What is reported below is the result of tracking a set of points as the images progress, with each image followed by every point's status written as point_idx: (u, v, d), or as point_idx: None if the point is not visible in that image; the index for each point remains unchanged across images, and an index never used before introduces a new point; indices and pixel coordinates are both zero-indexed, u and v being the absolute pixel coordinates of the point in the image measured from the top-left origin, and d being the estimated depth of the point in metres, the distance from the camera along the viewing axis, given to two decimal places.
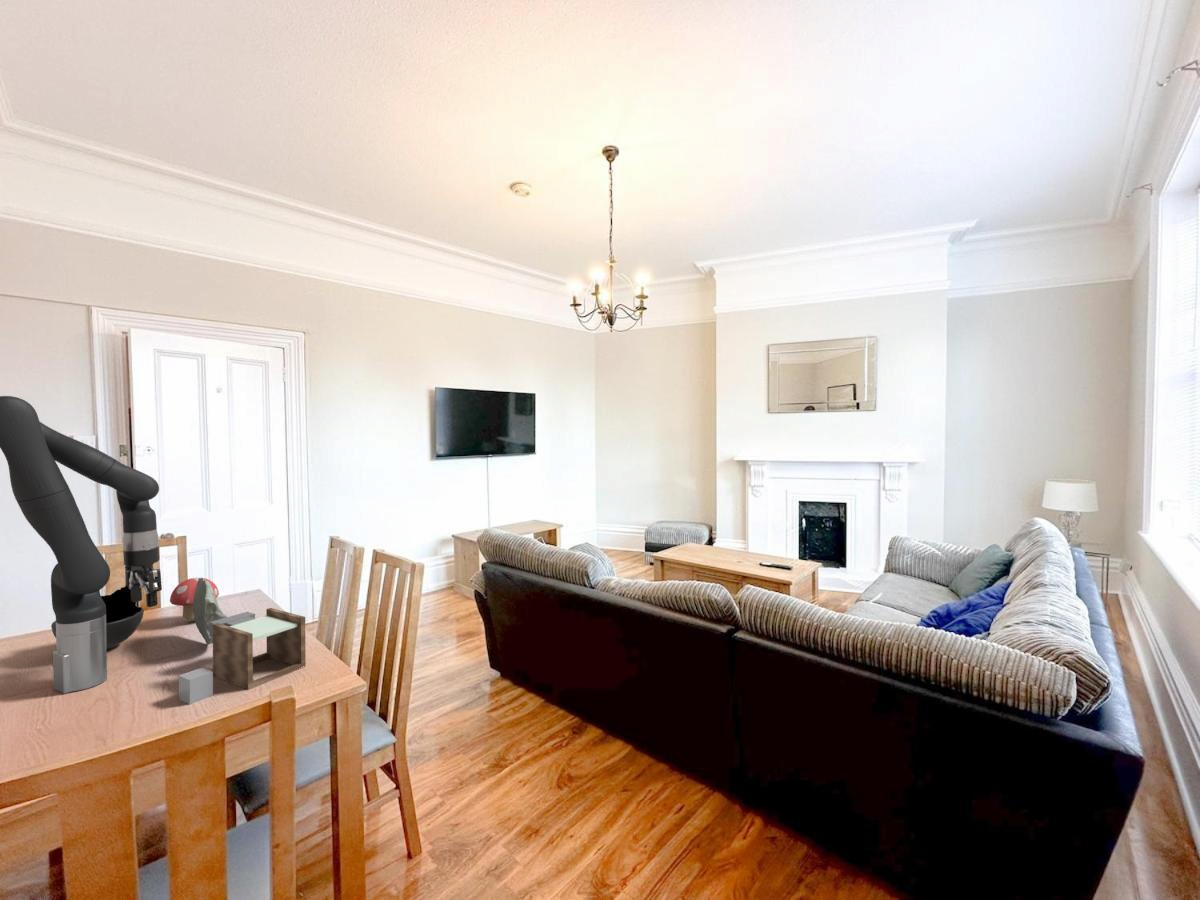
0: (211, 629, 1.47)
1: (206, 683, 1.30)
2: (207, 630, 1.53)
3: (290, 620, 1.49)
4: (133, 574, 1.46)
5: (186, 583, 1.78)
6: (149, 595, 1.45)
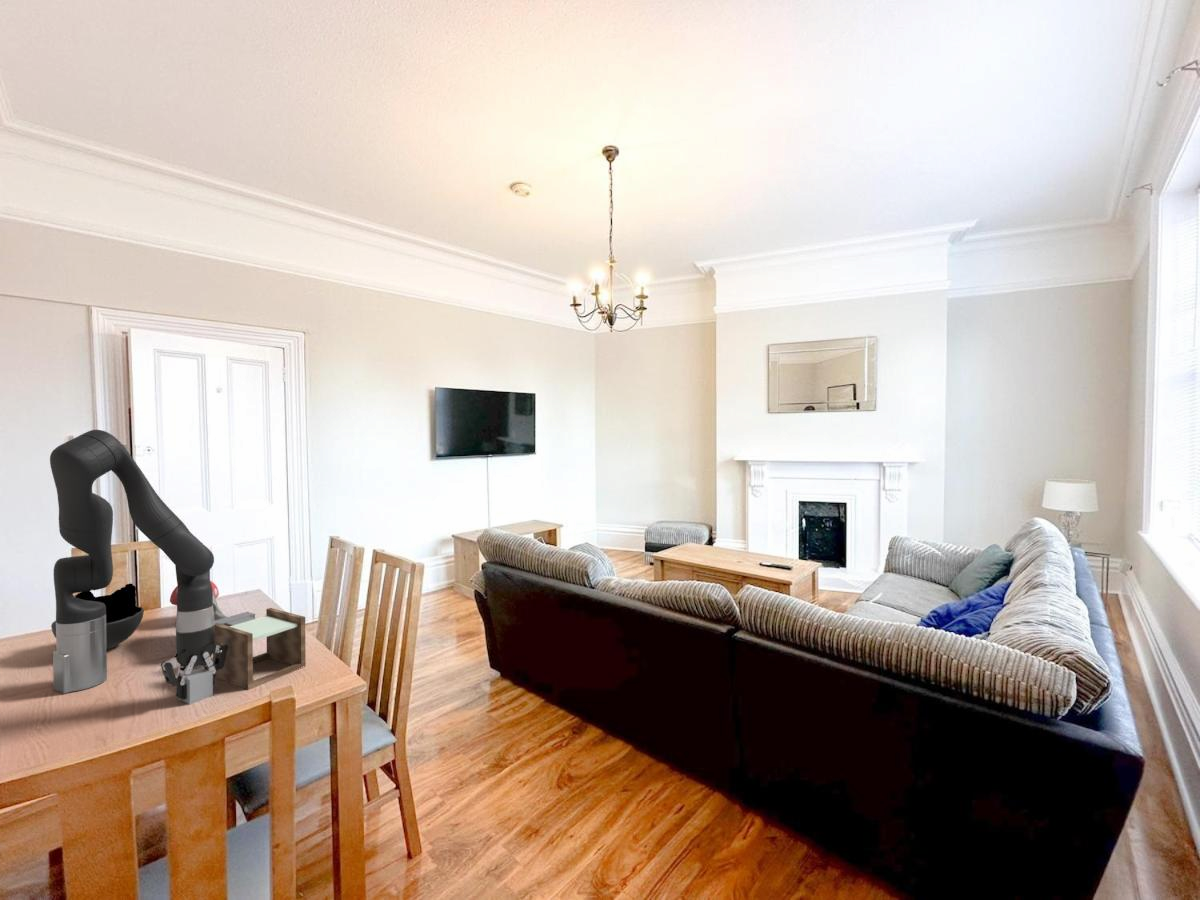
0: None
1: (206, 683, 1.30)
2: None
3: (290, 620, 1.49)
4: None
5: None
6: (213, 675, 1.33)
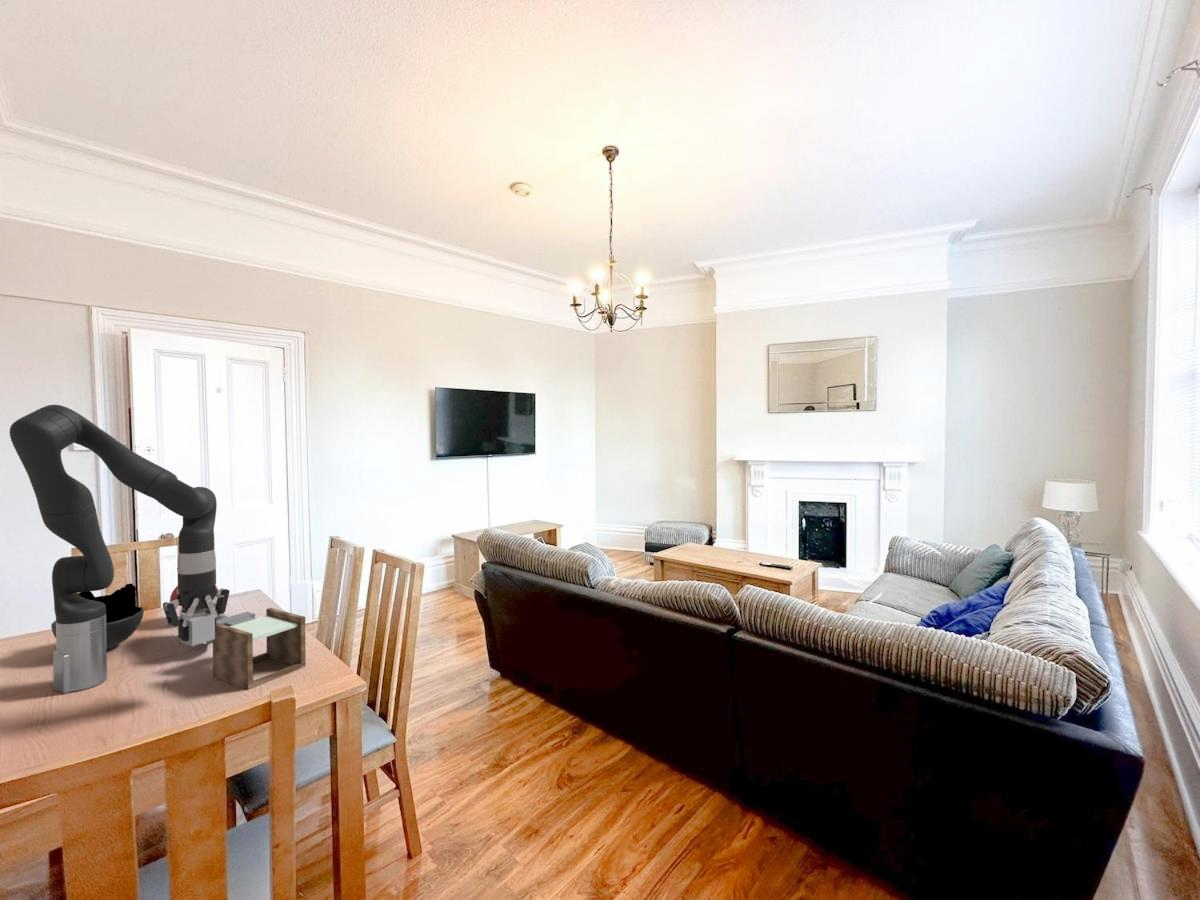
0: None
1: (208, 626, 1.30)
2: None
3: (290, 620, 1.49)
4: None
5: None
6: None
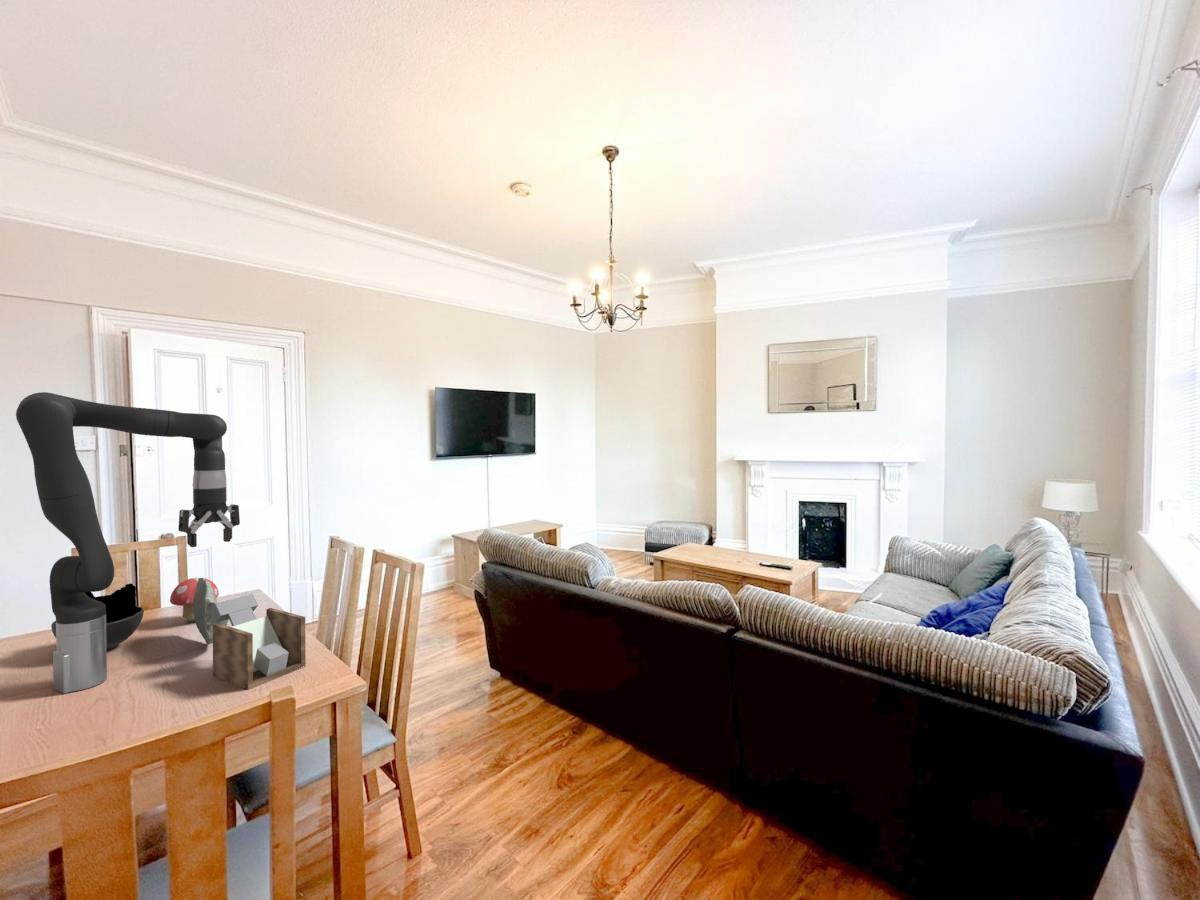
0: (213, 610, 1.46)
1: None
2: (207, 630, 1.53)
3: (290, 620, 1.49)
4: None
5: (186, 583, 1.78)
6: (230, 529, 1.52)
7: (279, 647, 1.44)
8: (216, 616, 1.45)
